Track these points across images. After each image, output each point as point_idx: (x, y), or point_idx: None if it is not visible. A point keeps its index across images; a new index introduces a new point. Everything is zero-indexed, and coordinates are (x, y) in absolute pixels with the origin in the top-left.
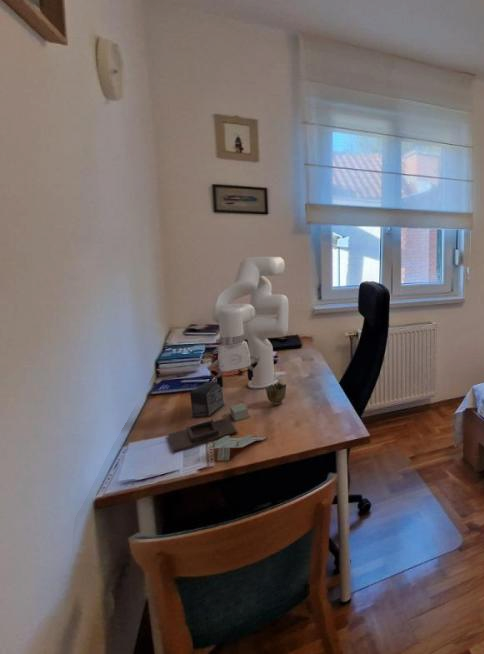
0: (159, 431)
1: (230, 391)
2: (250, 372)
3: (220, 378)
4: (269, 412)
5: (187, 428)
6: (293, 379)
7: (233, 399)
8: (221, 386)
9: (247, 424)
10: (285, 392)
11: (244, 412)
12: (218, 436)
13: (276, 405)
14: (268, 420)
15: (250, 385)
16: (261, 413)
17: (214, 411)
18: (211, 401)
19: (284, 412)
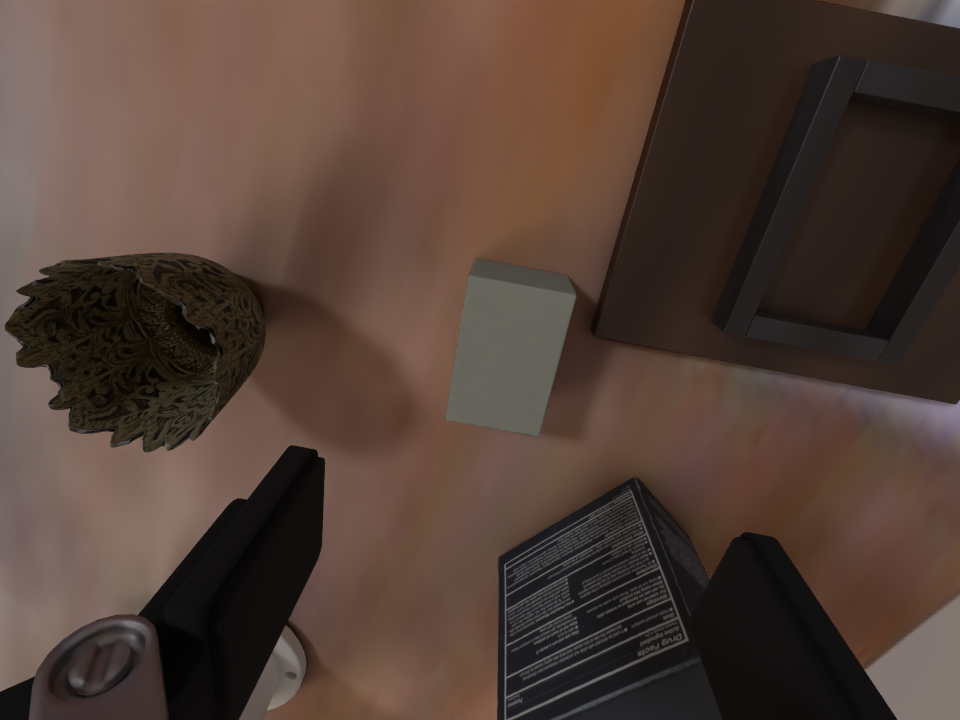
0: (901, 507)
1: (398, 677)
2: (212, 575)
3: (885, 708)
4: (326, 205)
5: (914, 336)
6: (59, 581)
7: (426, 585)
8: (767, 539)
9: (538, 120)
10: (93, 285)
11: (496, 274)
12: (844, 14)
13: (245, 278)
14: (386, 36)
15: (293, 661)
16: (378, 241)
17: (583, 511)
18: (617, 570)
19: (228, 88)
